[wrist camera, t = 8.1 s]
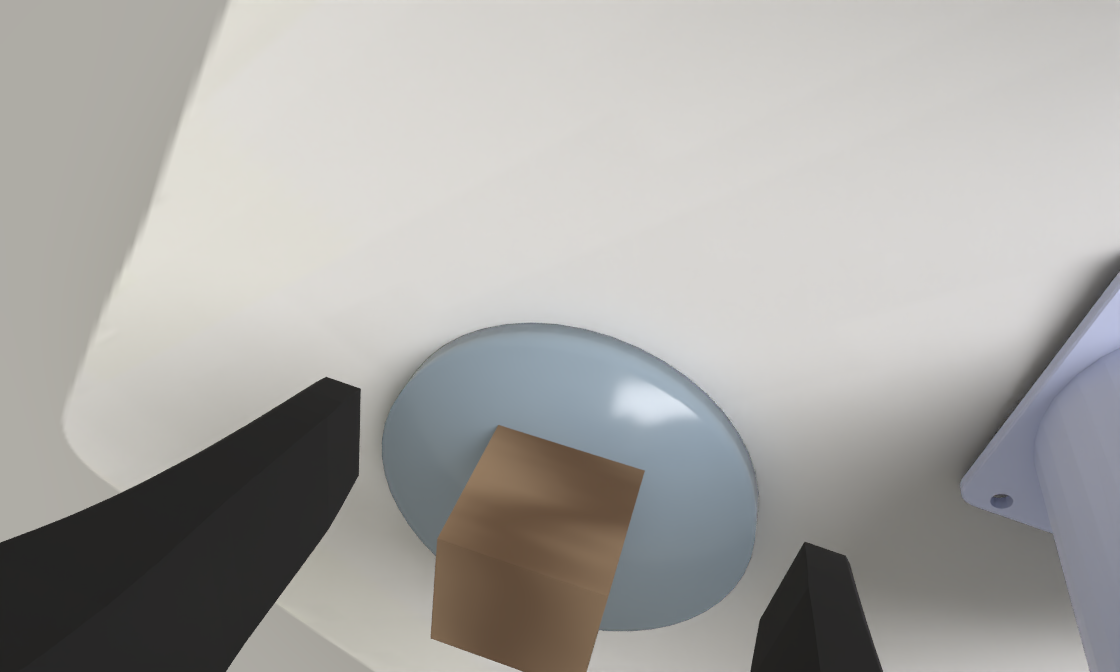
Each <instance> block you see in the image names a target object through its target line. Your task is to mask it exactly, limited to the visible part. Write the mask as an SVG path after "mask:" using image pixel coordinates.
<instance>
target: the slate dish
mask: <svg viewBox="0 0 1120 672" xmlns="http://www.w3.org/2000/svg"><path fill="white" fill-rule="evenodd" d="M498 425H501V426H504V427H507V428H510V429H513V430H517V431H520V432H523V433H526V434H529V435H533V436H536V437H539V438H542V439H545V440H549V441H552V442H555V443H558V444H561V445H565V446H568V447H571V448H574V449H577V450H581V451H584V452H587V453H590V454H593V455H597V456H600V457H603V458H606V459H609V460H613V461H616V462H619V463H622V464H625V465H629V466H632V467H635V468H638V469H641V470H645V472H644V475H643V479H642V482H641V486H640V489H639V493H638V496H637V500H636V503H635V507H634V510H633V513H632V517H631V520H630V524H629V527H628V531H627V534H626V538H625V541H624V545H623V548H622V551H621V555H620V558H619V562H618V565H617V569H616V572H615V576H614V579H613V582H612V586H611V589H610V593H609V596H608V600H607V603H606V606H605V610H604V613H603V617H602V620H601V623H600V627H599V630H605V631H638V630H649V629H655V628H660V627H665V626H670V625H674V624H677V623H680V622H683V621H686V620H689V619H691V618H693V617H695V616H697V615H699V614H701V613H703V612H705V611H707V610H708V609H710V608H711V607H713V606H714V605H716V604H717V603H719V602H720V601H721V600H722V599H723V598H724V597H725V596H726V595H728V594H729V593H730V592H731V591H732V590H733V589H734V587H735V586H736V584H737V583H738V582H739V580H740V579H741V577H742V576H743V574H744V572H745V570H746V568H747V565H748V563H749V561H750V559H751V554H752V550H753V545H754V541H755V533H756V524H757V516H758V495H759V492H758V486H757V480H756V473H755V470H754V467H753V464H752V461H751V458H750V455H749V452H748V451H747V449H746V447H745V445H744V443H743V441H742V439H741V437H740V435H739V433H738V432H737V430H736V429H735V427H734V426H733V425H732V423H731V422H730V420H729V419H728V418H727V416H726V415H725V413H724V412H723V411H722V410H721V409H720V408H719V407H718V406H717V405H716V404H715V402H714V401H713V400H712V399H711V398H710V397H709V396H708V395H707V394H706V393H705V392H704V391H703V390H701V389H700V388H699V387H698V386H697V385H696V384H694V383H693V382H692V381H691V380H690V379H689V378H687V377H686V376H685V375H683V374H682V373H680V372H679V371H677V370H676V369H674V368H673V367H672V366H670V365H669V364H667V363H666V362H664V361H663V360H661V359H659V358H657V357H655V356H653V355H651V354H649V353H648V352H646V351H644V350H642V349H640V348H638V347H636V346H633V345H631V344H628V343H626V342H623V341H621V340H618V339H616V338H613V337H611V336H607V335H604V334H600V333H597V332H593V331H590V330H586V329H581V328H575V327H570V326H564V325H558V324H542V323H521V324H506V325H501V326H495V327H490V328H485V329H481V330H478V331H475V332H472V333H469V334H467V335H464V336H461V337H459V338H458V339H456V340H454V341H452V342H450V343H448V344H446V345H444V346H443V347H442V348H440V349H439V350H438V351H436V352H435V353H434V354H432V355H431V356H430V357H429V358H428V359H427V360H426V361H425V362H424V363H423V364H422V365H421V366H420V367H419V368H418V370H417V371H416V372H415V374H414V375H413V376H412V378H411V379H410V380H409V382H408V383H407V385H406V386H405V387H404V389H403V390H402V391H401V393H400V394H399V396H398V398H397V399H396V401H395V402H394V404H393V406H392V407H391V409H390V412H389V415H388V417H387V420H386V423H385V427H384V433H383V438H382V459H383V465H384V471H385V476H386V479H387V482H388V485H389V488H390V491H391V493H392V496H393V498H394V500H395V502H396V504H397V506H398V508H399V510H400V511H401V513H402V515H403V516H404V518H405V519H406V521H407V523H408V524H409V526H410V527H411V528H412V530H413V531H414V532H415V533H416V535H417V536H418V537H419V538H420V540H421V541H422V542H423V543H424V544H425V545H426V546H427V547H428V548H429V549H430V550H431V551H432V553H433V554H434V555H435V556H436V549H437V538H438V536H439V534H440V532H441V531H442V529H443V527H444V525H445V523H446V521H447V519H448V518H449V516H450V514H451V512H452V510H453V508H454V506H455V505H456V503H457V501H458V499H459V497H460V495H461V493H462V492H463V490H464V488H465V486H466V484H467V482H468V480H469V479H470V477H471V475H472V473H473V471H474V469H475V467H476V466H477V464H478V462H479V460H480V458H481V456H482V454H483V453H484V451H485V449H486V447H487V445H488V443H489V441H490V440H491V438H492V436H493V434H494V432H495V430H496V428H497V427H498Z"/></svg>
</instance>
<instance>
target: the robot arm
mask: <svg viewBox="0 0 1120 672" xmlns="http://www.w3.org/2000/svg"><path fill="white" fill-rule="evenodd" d="M360 394H361V389H360V388H357V387H354V386H351V385H348V384H345V383H342V382H339V381H337V380H334V379H331V378H328V377H325V378H323V379H321V380H319V381H317V382H316V383H314V384H313V385H311V386H309V387H308V388H306V389H304V390H303V391H301V392H300V393H298V394H296V395H295V396H293V397H292V398H290V399H288V400H287V401H285V402H283V403H282V404H280V405H279V406H277V407H275V408H274V409H272V410H271V411H269V412H267V413H266V414H264V415H262V416H261V417H259V418H257V419H256V420H254V421H253V422H251V423H249V424H248V425H246V426H244V427H242V428H241V429H239V430H237V431H236V432H234V433H232V434H230V435H229V436H227V437H225V438H224V439H222V440H220V441H218V442H217V443H215V444H213V445H212V446H210V447H208V448H206V449H205V450H203V451H201V452H199V453H197V454H196V455H194V456H192V457H190V458H188V459H186V460H184V461H182V462H181V463H179V464H177V465H175V466H173V467H171V468H169V469H167V470H165V471H163V472H162V473H160V474H158V475H156V476H154V477H152V478H150V479H148V480H146V481H144V482H142V483H140V484H138V485H136V486H134V487H132V488H130V489H128V490H126V491H124V492H122V493H120V494H118V495H116V496H113V497H111V498H109V499H107V500H105V501H102V502H100V503H98V504H96V505H93V506H91V507H89V508H87V509H84V510H82V511H80V512H78V513H75V514H73V515H70V516H68V517H66V518H63V519H61V520H58V521H56V522H53V523H51V524H48V525H46V526H43V527H41V528H38V529H36V530H33V531H30V532H27V533H25V534H22V535H20V536H17V537H14V538H12V539H9V540H6V541H3V542H1V543H0V672H226V670H227V669H228V667H229V666H230V665H231V663H232V661H233V660H234V659H235V657H236V655H237V654H238V653H239V651H240V650H241V648H242V647H243V645H244V644H245V642H246V641H247V640H248V638H249V637H250V636H251V634H252V633H253V632H254V630H255V629H256V627H257V626H258V625H259V623H260V622H261V621H262V619H263V618H264V617H265V615H266V614H267V613H268V611H269V610H270V608H271V607H272V606H273V604H274V603H275V602H276V600H277V599H278V598H279V596H280V595H281V594H282V592H283V591H284V590H285V588H286V587H287V585H288V584H289V583H290V581H291V580H292V579H293V577H294V576H295V575H296V573H297V572H298V571H299V569H300V568H301V566H302V565H303V564H304V562H305V561H306V560H307V558H308V557H309V555H310V554H311V553H312V551H313V550H314V549H315V547H316V546H317V544H318V543H319V542H320V540H321V539H322V538H323V536H324V535H325V533H326V532H327V530H328V529H329V527H330V526H331V524H332V522H333V520H334V519H335V517H336V515H337V514H338V512H339V510H340V508H341V507H342V505H343V503H344V501H345V499H346V498H347V496H348V494H349V492H350V490H351V488H352V487H353V485H354V483H355V481H356V479H357V477H358V476H359V438H360ZM960 489H961V495H962V498H963V499H964V500H965V502H967V503H968V504H970V505H972V506H975V507H978V508H981V509H983V510H986V511H989V512H992V513H995V514H998V515H1001V516H1003V517H1006V518H1009V519H1012V520H1015V521H1018V522H1021V523H1024V524H1026V525H1029V526H1032V527H1035V528H1038V529H1041V530H1044V531H1046V532H1049V533H1052V534H1053V536H1054V539H1055V543H1056V547H1057V551H1058V554H1059V558H1060V562H1061V566H1062V569H1063V573H1064V577H1065V581H1066V584H1067V588H1068V592H1069V595H1070V599H1071V603H1072V607H1073V610H1074V614H1075V618H1076V622H1077V625H1078V629H1079V633H1080V637H1081V640H1082V644H1083V648H1084V652H1085V655H1086V659H1087V663H1088V666H1089V670H1090V672H1120V272H1119V273H1118V274H1117V275H1116V277H1115V278H1114V279H1113V281H1112V282H1111V283H1110V285H1109V286H1108V287H1107V289H1106V290H1105V291H1104V293H1103V294H1102V295H1101V297H1100V298H1099V299H1098V300H1097V302H1096V303H1095V304H1094V306H1093V307H1092V308H1091V310H1090V311H1089V312H1088V314H1087V315H1086V316H1085V318H1084V319H1083V320H1082V322H1081V323H1080V324H1079V325H1078V327H1077V328H1076V329H1075V331H1074V332H1073V333H1072V335H1071V336H1070V337H1069V339H1068V340H1067V341H1066V343H1065V344H1064V345H1063V347H1062V348H1061V349H1060V350H1059V352H1058V353H1057V354H1056V356H1055V357H1054V358H1053V360H1052V361H1051V362H1050V364H1049V365H1048V366H1047V368H1046V369H1045V370H1044V372H1043V373H1042V374H1041V375H1040V377H1039V378H1038V379H1037V381H1036V382H1035V383H1034V385H1033V386H1032V387H1031V389H1030V390H1029V391H1028V393H1027V394H1026V395H1025V397H1024V398H1023V399H1022V400H1021V402H1020V403H1019V404H1018V406H1017V407H1016V408H1015V410H1014V411H1013V412H1012V414H1011V415H1010V416H1009V418H1008V419H1007V420H1006V422H1005V423H1004V424H1003V426H1002V427H1001V428H1000V429H999V431H998V432H997V433H996V435H995V436H994V437H993V439H992V440H991V441H990V443H989V444H988V445H987V447H986V448H985V449H984V451H983V452H982V453H981V454H980V456H979V457H978V458H977V460H976V461H975V462H974V464H973V465H972V466H971V468H970V469H969V470H968V472H967V473H966V474H965V476H964V477H963V478H962V480H961V482H960ZM998 494H1005V495H1008V496H1006V497H1003V498H996V497H993V496H995V495H998ZM751 672H883V670H882V667H881V664H880V661H879V658H878V655H877V653H876V650H875V646H874V643H873V640H872V637H871V634H870V631H869V628H868V625H867V622H866V618H865V615H864V612H863V608H862V605H861V602H860V598H859V595H858V592H857V588H856V584H855V581H854V577H853V574H852V570H851V566H850V563H849V561H848V559H847V558H846V556H844V555H842V554H839V553H836V552H833V551H830V550H827V549H824V548H821V547H818V546H815V545H813V544H810V543H807V542H804V544H803V546H802V547H801V549H800V551H799V553H798V554H797V556H796V558H795V560H794V561H793V563H792V565H791V566H790V568H789V570H788V572H787V573H786V575H785V577H784V579H783V580H782V582H781V584H780V586H779V587H778V589H777V591H776V593H775V594H774V596H773V598H772V600H771V601H770V603H769V605H768V607H767V608H766V610H765V612H764V614H763V615H762V617H761V619H760V622H759V628H758V633H757V638H756V644H755V649H754V654H753V660H752V666H751Z"/></svg>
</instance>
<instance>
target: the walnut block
mask: <svg viewBox="0 0 1120 672" xmlns="http://www.w3.org/2000/svg"><path fill="white" fill-rule="evenodd" d="M644 472H645V470H641V469H638V468H635V467H632V466H629V465H625V464H622V463H619V462H616V461H613V460H609V459H606V458H603V457H600V456H597V455H593V454H590V453H587V452H584V451H581V450H577V449H574V448H571V447H568V446H565V445H561V444H558V443H555V442H552V441H549V440H545V439H542V438H539V437H536V436H533V435H529V434H526V433H523V432H520V431H517V430H513V429H510V428H507V427H504V426H501V425H498V427H497V428H496V430H495V432H494V434H493V436H492V438H491V440H490V441H489V443H488V445H487V447H486V449H485V451H484V453H483V454H482V456H481V458H480V460H479V462H478V464H477V466H476V467H475V469H474V471H473V473H472V475H471V477H470V479H469V480H468V482H467V484H466V486H465V488H464V490H463V492H462V493H461V495H460V497H459V499H458V501H457V503H456V505H455V506H454V508H453V510H452V512H451V514H450V516H449V518H448V519H447V521H446V523H445V525H444V527H443V529H442V531H441V532H440V534H439V536H438V538H437V549H436V564H435V580H434V595H433V610H432V626H431V639H434V640H437V641H440V642H443V643H445V644H448V645H451V646H454V647H457V648H459V649H462V650H465V651H468V652H470V653H473V654H476V655H479V656H482V657H484V658H487V659H490V660H493V661H495V662H498V663H501V664H504V665H507V666H509V667H512V668H515V669H518V670H521V671H523V672H586V671H587V668H588V665H589V661H590V658H591V654H592V651H593V647H594V644H595V641H596V637H597V634H598V630H599V627H600V623H601V620H602V617H603V613H604V610H605V606H606V603H607V600H608V596H609V593H610V589H611V586H612V582H613V579H614V576H615V572H616V569H617V565H618V562H619V558H620V555H621V551H622V548H623V545H624V541H625V538H626V534H627V531H628V527H629V524H630V520H631V517H632V513H633V510H634V507H635V503H636V500H637V496H638V493H639V489H640V486H641V482H642V479H643V475H644Z"/></svg>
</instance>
